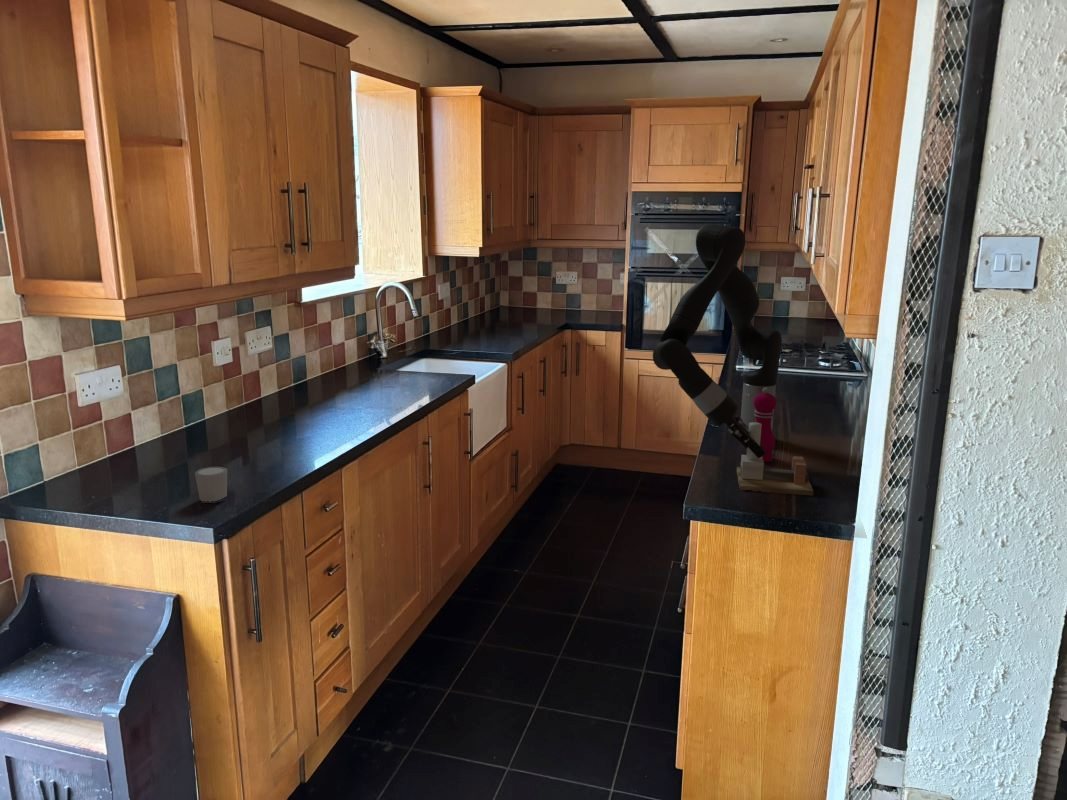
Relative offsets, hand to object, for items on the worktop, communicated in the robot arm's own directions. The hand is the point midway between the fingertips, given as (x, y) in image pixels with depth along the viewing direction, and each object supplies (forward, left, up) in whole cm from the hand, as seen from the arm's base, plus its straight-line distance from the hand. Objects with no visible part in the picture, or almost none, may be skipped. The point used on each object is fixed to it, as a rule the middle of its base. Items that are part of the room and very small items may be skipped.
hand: (761, 453), depth 194 cm
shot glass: (+42, -124, -8) cm, 131 cm away
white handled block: (0, -2, -6) cm, 6 cm away
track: (0, +3, -7) cm, 8 cm away
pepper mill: (-20, +2, -8) cm, 21 cm away
